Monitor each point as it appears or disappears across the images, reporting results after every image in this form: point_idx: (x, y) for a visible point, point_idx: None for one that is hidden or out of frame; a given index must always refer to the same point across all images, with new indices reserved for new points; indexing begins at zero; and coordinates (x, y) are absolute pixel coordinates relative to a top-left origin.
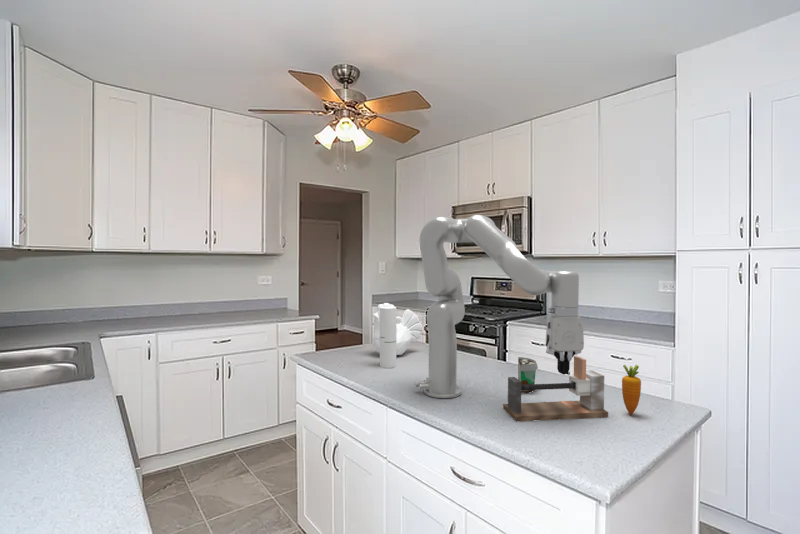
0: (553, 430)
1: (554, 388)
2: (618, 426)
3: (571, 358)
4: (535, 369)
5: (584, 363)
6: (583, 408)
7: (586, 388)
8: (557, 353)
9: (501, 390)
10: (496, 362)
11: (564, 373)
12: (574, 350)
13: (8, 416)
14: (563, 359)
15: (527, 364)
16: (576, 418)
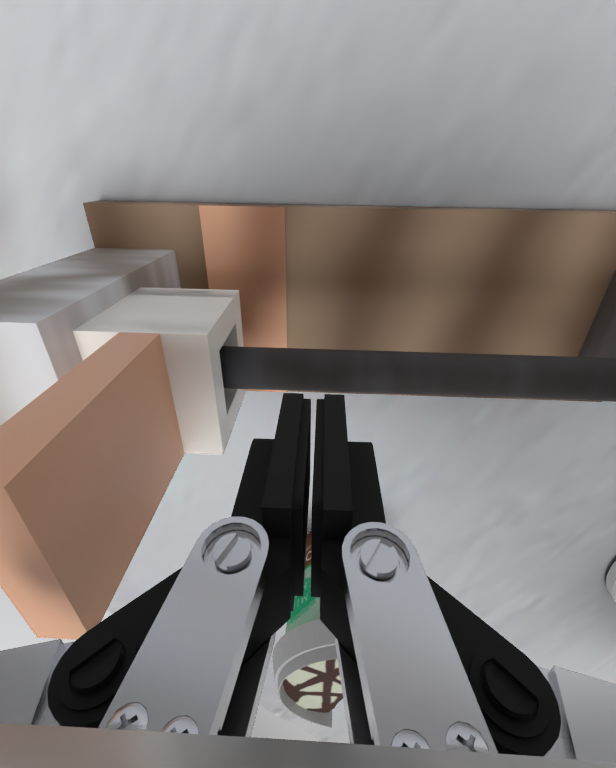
0: (561, 18)
1: (401, 351)
2: (88, 27)
3: (195, 553)
4: (310, 624)
5: (13, 438)
6: (211, 276)
7: (148, 304)
8: (504, 697)
9: (434, 553)
10: (295, 716)
11: (335, 395)
12: (45, 763)
13: None
14: (349, 550)
15: (334, 666)
16: (294, 204)
